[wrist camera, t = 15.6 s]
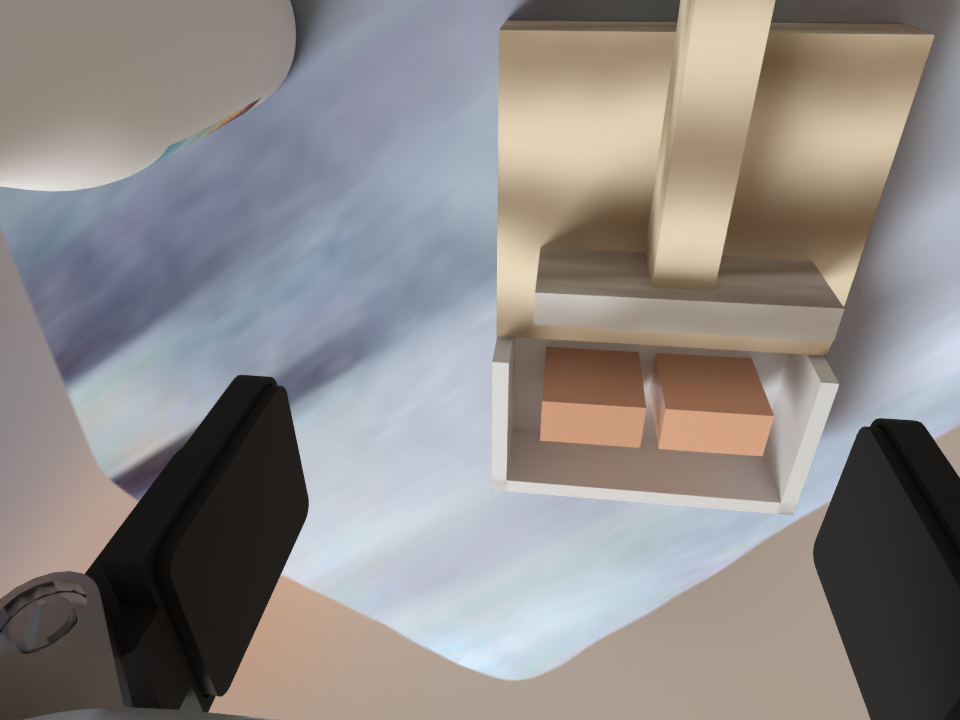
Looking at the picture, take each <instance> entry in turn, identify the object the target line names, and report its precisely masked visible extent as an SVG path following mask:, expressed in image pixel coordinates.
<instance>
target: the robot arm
mask: <svg viewBox="0 0 960 720" xmlns="http://www.w3.org/2000/svg"><path fill="white" fill-rule="evenodd" d="M308 507H309V500H308V494H307V489H306V484H305V479H304V474H303V469H302V464H301V460H300V455H299V450H298V445H297V440H296V435H295V430H294V425H293V420H292V416H291V411H290V406H289V401H288V396H287V392H286V389H285V388H284V387H283V386H277V383H276V381H275V379H274V378H272V377H264V376H250V375H239V376H237V377H236V378H235V379H234V380H233V381H232V382H231V384H230V385H229V386H228V388H227V389H226V390H225V392H224V393H223V394H222V396H221V397H220V398H219V400H218V401H217V402H216V404H215V405H214V406H213V408H212V409H211V410H210V412H209V413H208V415H207V416H206V417H205V419H204V420H203V421H202V423H201V424H200V425H199V427H198V428H197V429H196V431H195V432H194V433H193V435H192V436H191V437H190V439H189V440H188V441H187V443H186V444H185V445H184V447H183V448H182V449H180V450H179V451H178V452H177V453H176V454H175V455H174V456H173V457H172V459H171V460H170V461H169V463H168V464H167V465H166V467H165V468H164V469H163V471H162V472H161V473H160V475H159V476H158V477H157V479H156V480H155V481H154V483H153V484H152V485H151V487H150V488H149V489H148V491H147V492H146V493H145V495H144V496H143V497H142V499H141V500H140V501H139V503H138V504H137V505H136V507H135V508H134V509H133V511H132V512H131V513H130V515H129V516H128V517H127V518H126V520H125V521H124V522H123V524H122V525H121V526H120V528H119V529H118V530H117V532H116V533H115V534H114V536H113V537H112V538H111V540H110V541H109V543H108V544H107V545H106V547H105V548H104V549H103V551H102V552H101V553H100V554H99V556H98V557H97V558H96V560H95V561H94V563H93V564H92V565H91V566H90V568H89V569H88V570H87V572H86V573H85V574H82V573H77V572H72V571H66V572H55V573H50V574H47V575H44V576H40V577H37V578H34V579H32V580H30V581H28V582H26V583H24V584H22V585H20V586H18V587H16V588H15V589H13V590H12V591H10V592H9V593H8V594H6V595H5V596H4V597H2V598H1V599H0V720H277V719H267V718H257V717H247V716H237V715H227V714H217V713H208V711H209V709H210V707H211V705H212V703H213V701H214V698H215V696H223V695H224V694H225V693H226V692H227V691H228V689H229V687H230V685H231V683H232V681H233V678H234V676H235V674H236V672H237V669H238V668H239V665H240V663H241V661H242V659H243V656H244V654H245V652H246V650H247V648H248V646H249V643H250V641H251V639H252V637H253V634H254V632H255V630H256V628H257V626H258V624H259V621H260V619H261V617H262V615H263V612H264V610H265V608H266V606H267V604H268V601H269V599H270V597H271V595H272V593H273V590H274V588H275V586H276V584H277V582H278V579H279V577H280V575H281V573H282V571H283V568H284V566H285V564H286V562H287V560H288V557H289V555H290V553H291V551H292V549H293V546H294V544H295V542H296V540H297V538H298V535H299V533H300V531H301V529H302V527H303V524H304V522H305V520H306V517H307V513H308ZM813 557H814V564H815V567H816V570H817V573H818V575H819V578H820V581H821V584H822V586H823V589H824V592H825V595H826V597H827V600H828V603H829V605H830V608H831V611H832V614H833V616H834V619H835V622H836V625H837V627H838V631H839V633H840V636H841V639H842V642H843V644H844V647H845V650H846V653H847V655H848V658H849V661H850V663H851V666H852V669H853V672H854V675H855V677H856V680H857V683H858V685H859V688H860V691H861V694H862V696H863V699H864V702H865V704H866V707H867V710H868V713H869V716H870V719H871V720H960V478H959V476H958V475H957V473H956V472H955V470H954V469H953V467H952V466H951V464H950V463H949V462H948V460H947V459H946V457H945V456H944V454H943V453H942V451H941V450H940V448H939V447H938V446H937V444H936V442H935V441H934V439H933V438H932V436H931V435H930V433H929V432H928V430H927V429H926V428H925V426H924V425H923V424H922V423H921V422H918V421H912V420H898V419H883V418H879V419H876V420H875V421H873V422H872V424H871V426H870V427H862V428H861V429H860V430H859V432H858V434H857V436H856V439H855V441H854V444H853V446H852V449H851V451H850V454H849V457H848V459H847V462H846V464H845V467H844V469H843V472H842V474H841V477H840V479H839V482H838V485H837V487H836V490H835V492H834V495H833V497H832V500H831V502H830V505H829V507H828V510H827V512H826V515H825V518H824V520H823V523H822V525H821V528H820V530H819V533H818V535H817V538H816V540H815V544H814V550H813Z"/></svg>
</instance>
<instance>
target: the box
mask: <svg viewBox="0 0 960 720" xmlns="http://www.w3.org/2000/svg"><path fill="white" fill-rule="evenodd" d="M546 347H559V348H577V349H594V350H612V351H629V352H639V357H640V365H641V372H642V379H643V387H644V394H645V401H646V414H645V420H644V426H643V433H642V439H641V445H640V448H636V447H622V446H608V445H594V444H580V443H567V442H553V441H540V430H541V411H542V395H543V382H544V369H545V355H546ZM656 353H668V354H686V355H703V356H721V357H738V358H752V360H753V363H754V366H755V368H756V371H757V373H758V376H759V378H760V381H761V384H762V386H763V389H764V391H765V394H766V396H767V399H768V401H769V404H770V407H771V409H772V412H773V414H774V419H773V422H772V426H771V429H770V433H769V436H768V439H767V443H766V446H765V450H764V453H763V456H750V455H736V454H722V453H708V452H694V451H680V450H667V449H658V443H657V436H656V429H655V422H654V416H653V409H652V402H651V396H650V385H651V379H652V373H653V367H654V360H655V354H656ZM838 387H839V382H838V380H837V378H836V376H835V375H834V373H833V371H832V369H831V368H830V366H829V364H828V362H827V360H826V359H825V357H824V355H808V354H791V353H774V352H757V351H740V350H723V349H706V348H689V347H672V346H655V345H638V344H621V343H605V342H588V341H571V340H554V339H537V338H520V337H503V336H497V341H496V346H495V351H494V356H493V361H492V490H499V491H511V492H523V493H535V494H547V495H559V496H571V497H583V498H595V499H607V500H619V501H631V502H643V503H654V504H666V505H678V506H690V507H702V508H714V509H726V510H738V511H750V512H762V513H774V514H786V515H793V514H794V511H795V508H796V505H797V502H798V500H799V497H800V494H801V491H802V488H803V486H804V483H805V480H806V477H807V474H808V471H809V469H810V466H811V463H812V460H813V457H814V455H815V452H816V449H817V446H818V443H819V441H820V438H821V435H822V432H823V429H824V427H825V424H826V421H827V418H828V415H829V412H830V410H831V407H832V404H833V401H834V398H835V396H836V393H837V390H838Z"/></svg>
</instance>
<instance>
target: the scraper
mask: <svg viewBox="0 0 960 720" xmlns="http://www.w3.org/2000/svg"><path fill="white" fill-rule="evenodd" d="M774 5H775V0H680V7H679V14H678V22H677V29H676V36H675V43H674V50H673V57H672V64H671V71H670V78H669V85H668V92H667V100H666V107H665V114H664V121H663V128H662V135H661V142H660V149H659V156H658V163H657V170H656V178H655V185H654V192H653V199H652V206H651V213H650V220H649V227H648V234H647V241H646V249H645V252H631V251H609V250H587V249H565V248H542V247H540V255H539V263H538V272H537V280H536V289H535V304H534V325H552V326H569V327H587V328H604V329H622V330H639V331H657V332H674V333H692V334H709V335H727V336H744V337H761V338H779V339H796V340H814V341H831V342H834V340H835V337H836V334H837V331H838V328H839V325H840V322H841V319H842V316H843V313H844V310H845V308H844V307H843V305H842V304H841V302H840V301H839V299H838V298H837V296H836V295H835V293H834V292H833V291H832V289H831V288H830V286H829V285H828V283H827V282H826V280H825V279H824V277H823V276H822V274H821V273H820V271H819V270H818V268H817V267H816V265H815V264H814V263H813V261H812V260H809V259H787V258H764V257H742V256H722V252H723V247H724V243H725V238H726V233H727V228H728V224H729V219H730V214H731V209H732V205H733V200H734V195H735V190H736V186H737V181H738V176H739V171H740V167H741V162H742V157H743V152H744V147H745V143H746V138H747V133H748V128H749V124H750V119H751V114H752V109H753V105H754V100H755V95H756V90H757V86H758V81H759V76H760V71H761V67H762V62H763V57H764V52H765V48H766V43H767V38H768V33H769V28H770V24H771V19H772V14H773V9H774Z"/></svg>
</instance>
